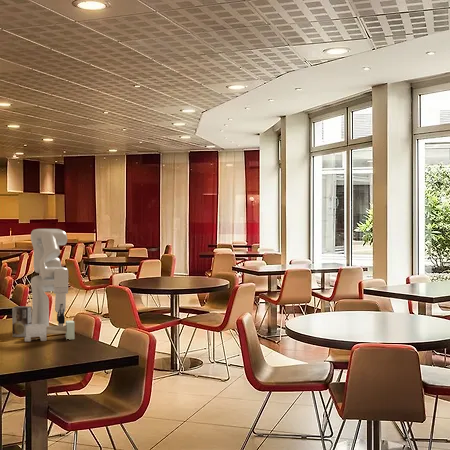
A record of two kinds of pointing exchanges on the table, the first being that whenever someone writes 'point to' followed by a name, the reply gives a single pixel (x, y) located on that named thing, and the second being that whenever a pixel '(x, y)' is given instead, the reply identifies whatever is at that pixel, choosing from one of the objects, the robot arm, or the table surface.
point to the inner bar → (57, 329)
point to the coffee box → (20, 320)
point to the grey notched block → (35, 331)
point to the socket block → (70, 329)
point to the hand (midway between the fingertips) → (60, 322)
